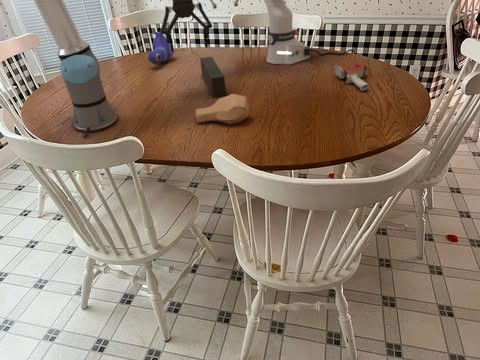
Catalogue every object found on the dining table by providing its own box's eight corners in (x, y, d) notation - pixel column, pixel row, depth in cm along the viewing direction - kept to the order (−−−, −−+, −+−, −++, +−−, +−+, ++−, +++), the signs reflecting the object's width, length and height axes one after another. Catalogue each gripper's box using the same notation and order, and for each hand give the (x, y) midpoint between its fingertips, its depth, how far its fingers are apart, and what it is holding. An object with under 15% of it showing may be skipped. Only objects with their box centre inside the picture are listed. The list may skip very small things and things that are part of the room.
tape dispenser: (364, 96, 143) (378, 76, 155) (367, 83, 139) (381, 65, 152) (323, 87, 150) (339, 69, 163) (324, 75, 147) (341, 57, 159)
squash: (253, 125, 125) (249, 104, 119) (198, 134, 127) (191, 114, 121) (250, 107, 133) (246, 86, 126) (198, 116, 134) (192, 96, 128)
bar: (225, 96, 147) (224, 76, 142) (213, 97, 146) (211, 78, 141) (213, 74, 169) (211, 56, 164) (202, 75, 168) (200, 58, 163)
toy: (162, 64, 198) (141, 70, 176) (157, 31, 191) (135, 33, 169) (178, 63, 196) (160, 69, 173) (174, 30, 189) (154, 32, 167)
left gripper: (212, -15, 136) (218, 42, 149) (146, -8, 132) (158, 50, 145) (215, -12, 130) (221, 47, 143) (147, -5, 126) (159, 55, 139)
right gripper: (245, -33, 149) (246, 3, 158) (197, -29, 146) (201, 8, 154) (249, -32, 144) (250, 6, 153) (199, -27, 141) (203, 11, 149)
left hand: (189, 49), depth 144 cm, fingers open, 13 cm apart
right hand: (225, 7), depth 153 cm, fingers open, 8 cm apart
